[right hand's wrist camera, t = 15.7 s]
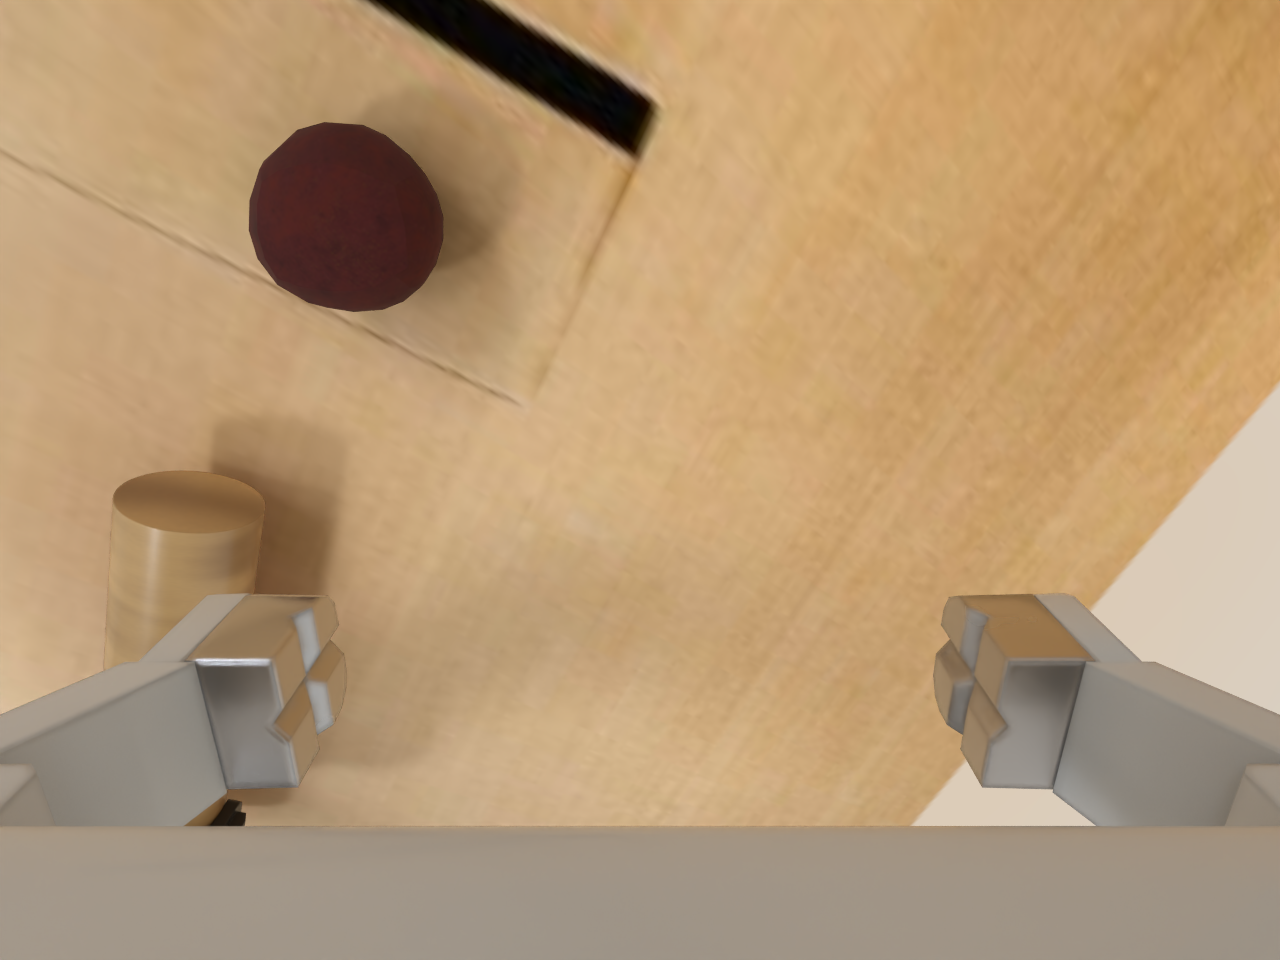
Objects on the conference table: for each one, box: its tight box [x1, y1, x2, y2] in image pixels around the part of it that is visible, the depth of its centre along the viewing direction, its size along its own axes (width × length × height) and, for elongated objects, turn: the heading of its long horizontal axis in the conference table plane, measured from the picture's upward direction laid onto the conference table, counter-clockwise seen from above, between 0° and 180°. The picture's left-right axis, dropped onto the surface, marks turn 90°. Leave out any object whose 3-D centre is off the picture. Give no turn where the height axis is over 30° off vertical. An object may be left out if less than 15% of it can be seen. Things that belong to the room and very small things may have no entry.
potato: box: [249, 122, 443, 312], centre depth 32 cm, size 7×8×7 cm
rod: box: [103, 471, 265, 826], centre depth 40 cm, size 24×6×6 cm, turn 163°
